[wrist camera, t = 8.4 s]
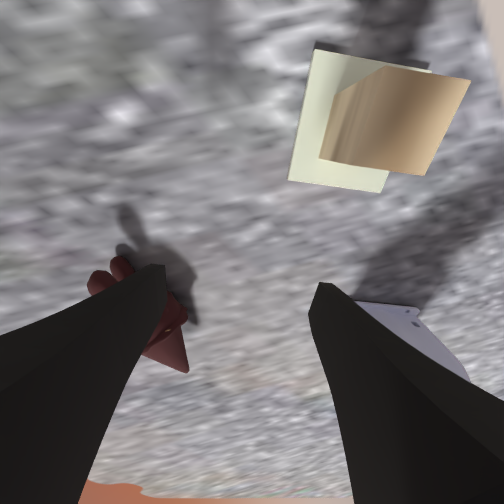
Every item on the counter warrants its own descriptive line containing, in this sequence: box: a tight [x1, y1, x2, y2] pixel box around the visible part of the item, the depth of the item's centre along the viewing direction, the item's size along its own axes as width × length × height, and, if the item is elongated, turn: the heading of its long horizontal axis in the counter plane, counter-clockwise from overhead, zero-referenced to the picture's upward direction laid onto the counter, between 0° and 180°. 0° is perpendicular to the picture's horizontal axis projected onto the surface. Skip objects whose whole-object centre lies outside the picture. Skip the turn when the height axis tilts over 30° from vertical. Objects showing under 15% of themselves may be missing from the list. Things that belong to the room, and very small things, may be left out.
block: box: [318, 65, 471, 176], centre depth 12 cm, size 4×4×6 cm
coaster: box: [287, 49, 432, 193], centre depth 15 cm, size 8×8×1 cm
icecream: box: [87, 256, 189, 373], centre depth 21 cm, size 7×7×15 cm
